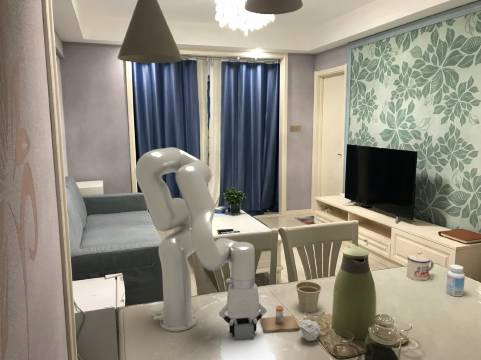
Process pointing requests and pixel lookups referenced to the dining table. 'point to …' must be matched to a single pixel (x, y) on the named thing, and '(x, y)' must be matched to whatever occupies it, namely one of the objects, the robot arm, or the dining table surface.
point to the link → (243, 329)
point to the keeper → (279, 322)
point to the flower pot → (308, 295)
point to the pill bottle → (455, 280)
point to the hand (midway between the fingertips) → (242, 333)
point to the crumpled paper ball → (309, 330)
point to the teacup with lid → (419, 266)
